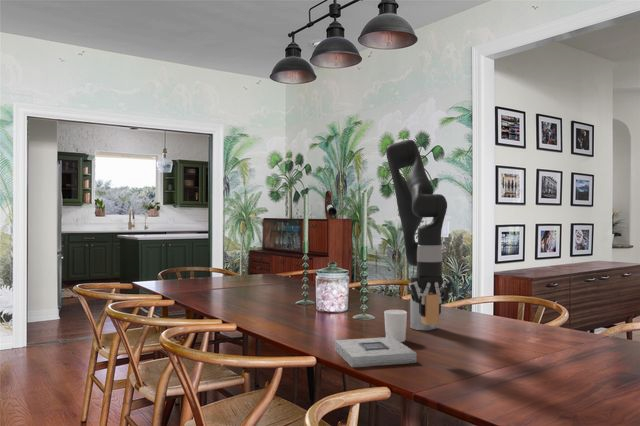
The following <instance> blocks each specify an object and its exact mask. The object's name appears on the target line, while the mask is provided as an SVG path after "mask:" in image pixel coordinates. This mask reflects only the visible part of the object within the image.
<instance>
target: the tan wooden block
mask: <svg viewBox="0 0 640 426" xmlns="http://www.w3.org/2000/svg"><path fill="white" fill-rule="evenodd" d="M425 300H426V301H425V317H422V316H421V322H422V323H424V324H426V325H435V324H437V325H439V324H440V314H439V294H436V293H428V295H426V298H425Z"/></svg>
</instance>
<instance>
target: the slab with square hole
mask: <svg viewBox="0 0 640 426" xmlns="http://www.w3.org/2000/svg"><path fill="white" fill-rule="evenodd" d="M334 351H336V352H337V354H338V355H339V356H340V357H341V358H342V359H343V360H344V361H345V362H346V363H348V365H349V366H350V367H351V368H362V367H364V368H365V367H374V366H375V367H376V366H377V367H378V366H391V365H406V364H416V363H417V352H416V351H415V350H413V349H412V348H410V347H408V346H407V345H405V344H404V343H403V342H399V341H398V340H396V339H395V338H393V337H386V336H385V337H370V338H369V337H367V338H354V339H353V338H352V339H351V338H349V339H335V340H334Z"/></svg>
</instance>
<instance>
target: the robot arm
mask: <svg viewBox="0 0 640 426" xmlns="http://www.w3.org/2000/svg"><path fill="white" fill-rule="evenodd" d="M385 155H386V160H387V163H388V166H389V171H390V174H391V178H392V182H393V187H394V192H395V197H396V198H395V199H396V205H397V209H398V214H399V219H400V223H401V227H402V233H403V240H404V247H405V248H404V249H405V250H404V251H405V258H406V260H407V263H408V265H410V266H414V267H416V274H414V275H411V276H410V278H409V279H410V281H409V283H407V287H408V288H407V289H408V291H409V294H410V298H409V299H410V307H409V309H410V317H409V318H410V320H409V321H410V327H409V328H411V329H412V330H417V331H432V330H436V329H437V327H438V326H437V325H438V324H435V325H426V324H424V323H422V322H421V316H422V317H425V301H426V300H425V298H426V295H428V293H436V294H439V315H440V314H441V313H442V303H443V302H447V301H448V298H449V295H450V292H451V288H452V282H450V281H445V280H444V278H443V250H442V230H443V225H444V221H445V217H446V214H447V211H448V210H447V209H448V202H447V199H446V197H445V196H444V195H443V194H440V193H435V194H434V187H433V185H432V184H431V181H430V179H429V177H428V175H427V173H426V170H425V169H426V168H425V165H424V162H423V158H422V155H421V152H420V149H419V146H418V145H417V143H416V142H415V141H414V139H413V140H412V139H406V140H403V141H399V142H394V143H391V144H388V145H387V146H386V149H385ZM408 167H411V168H410V170H409V171H408V173H407V175H406V179H405V178H404V177H403V175H402V174H401V172H400V170H401V169H405V168H408ZM424 218H432V220H431V221H430V223H428V224H423V225H421V223H422V221H423V219H424ZM416 232H417V242H416V240H415V235H416ZM441 287H442V289H441V291H440V288H441Z"/></svg>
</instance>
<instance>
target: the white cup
mask: <svg viewBox="0 0 640 426" xmlns="http://www.w3.org/2000/svg"><path fill="white" fill-rule="evenodd" d="M383 313H384V331H385V337H393V338H395V339H396V340H398V341H399V342H401V343H403V342H405V341H406V338H407V337H406V335H407V334H406V333H407V319H408V318H407V317H408V316H407V315H408V312H407V311H406V310H403V309H388V310H387V309H386V310H384V311H383Z"/></svg>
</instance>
